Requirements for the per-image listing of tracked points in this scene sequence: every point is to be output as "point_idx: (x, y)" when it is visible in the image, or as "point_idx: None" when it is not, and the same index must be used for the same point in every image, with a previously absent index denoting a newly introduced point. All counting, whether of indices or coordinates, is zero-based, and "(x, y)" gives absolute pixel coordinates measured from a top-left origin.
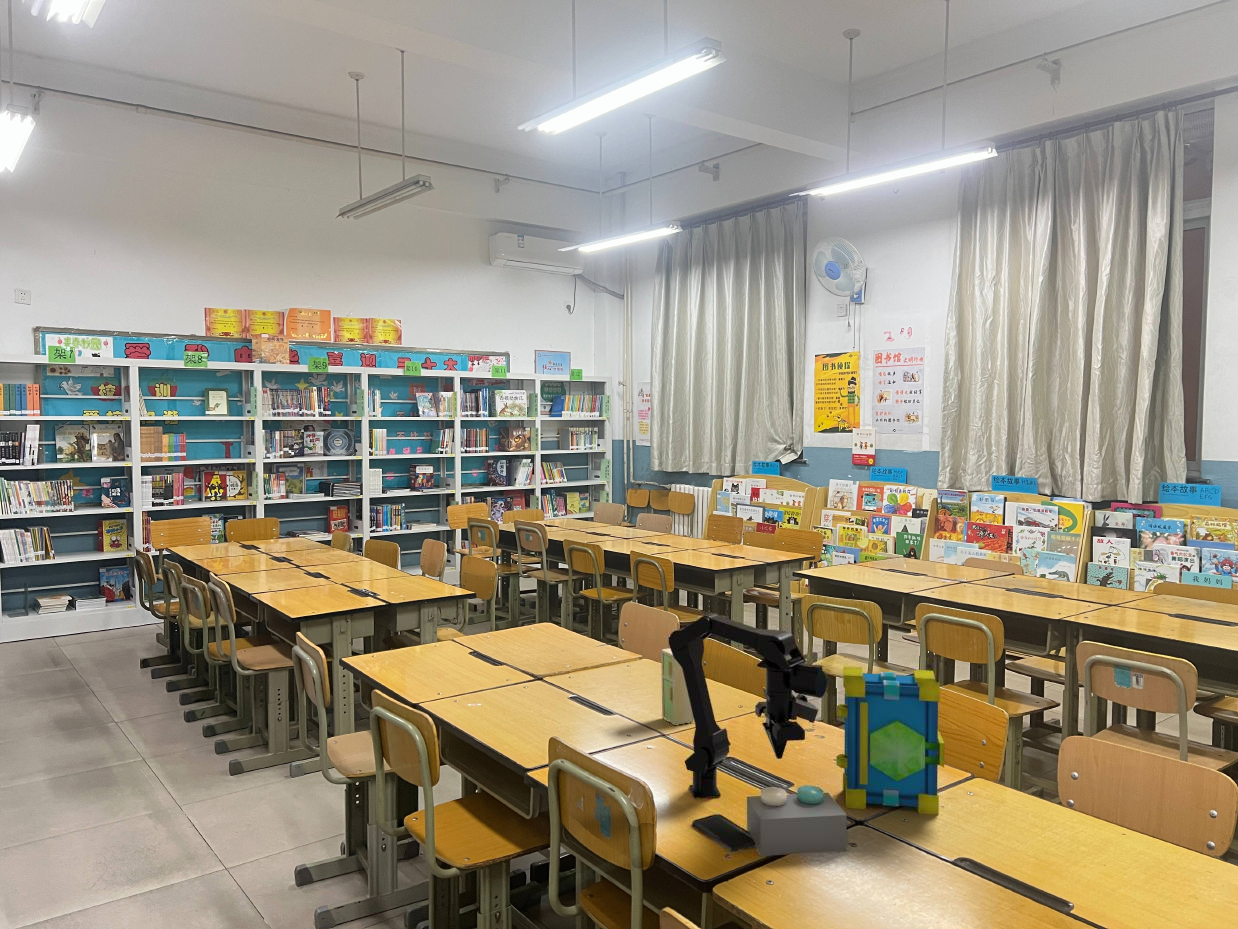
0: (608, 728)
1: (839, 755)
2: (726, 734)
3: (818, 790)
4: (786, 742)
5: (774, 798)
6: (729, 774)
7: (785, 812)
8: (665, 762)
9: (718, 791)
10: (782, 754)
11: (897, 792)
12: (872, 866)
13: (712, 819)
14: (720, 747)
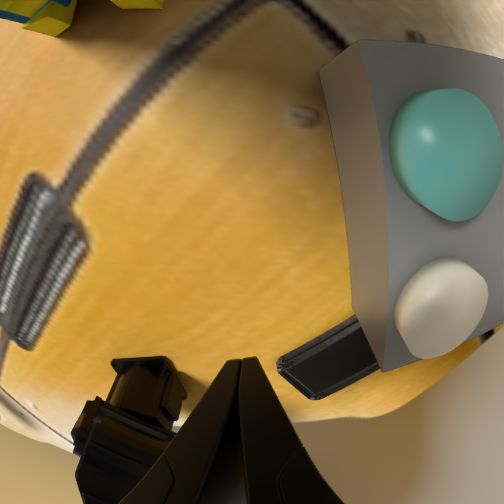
0: (22, 424)
1: (2, 3)
2: (84, 475)
3: (464, 112)
4: (326, 482)
5: (481, 311)
6: (45, 323)
7: (499, 262)
8: (62, 403)
9: (145, 361)
10: (267, 380)
11: None
12: (490, 49)
13: (302, 374)
14: (143, 473)
